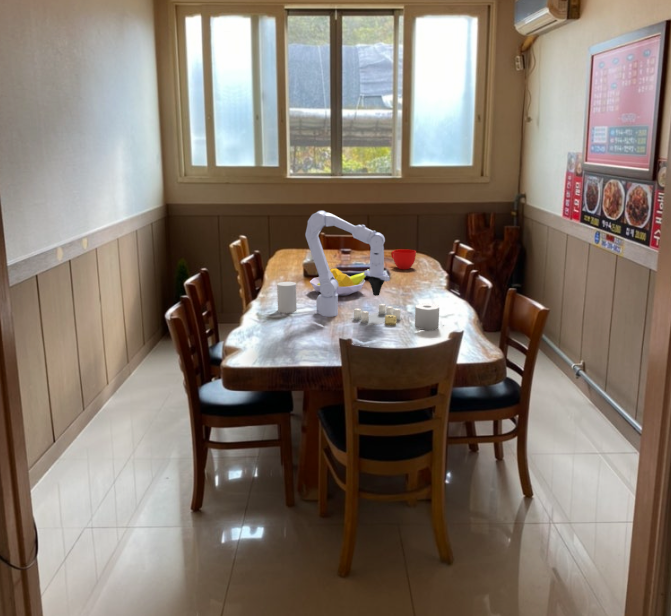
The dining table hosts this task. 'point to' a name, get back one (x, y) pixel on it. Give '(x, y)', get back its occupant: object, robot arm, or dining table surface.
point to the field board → (374, 319)
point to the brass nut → (390, 320)
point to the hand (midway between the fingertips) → (376, 295)
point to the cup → (286, 297)
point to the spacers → (382, 311)
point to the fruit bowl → (343, 282)
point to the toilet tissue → (427, 316)
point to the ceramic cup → (403, 258)
